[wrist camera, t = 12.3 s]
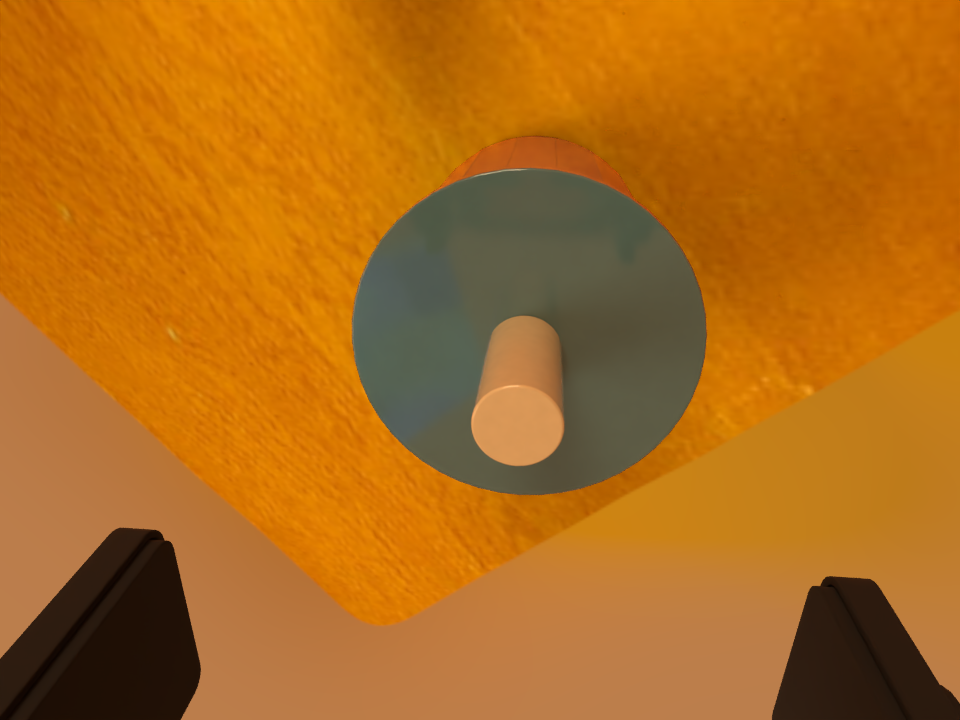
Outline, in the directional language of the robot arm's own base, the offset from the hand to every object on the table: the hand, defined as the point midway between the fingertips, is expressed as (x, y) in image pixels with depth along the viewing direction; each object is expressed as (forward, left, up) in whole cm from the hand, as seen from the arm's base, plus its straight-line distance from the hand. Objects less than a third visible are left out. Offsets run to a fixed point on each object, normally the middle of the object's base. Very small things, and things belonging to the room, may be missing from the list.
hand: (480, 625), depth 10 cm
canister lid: (+1, 0, -13) cm, 13 cm away
